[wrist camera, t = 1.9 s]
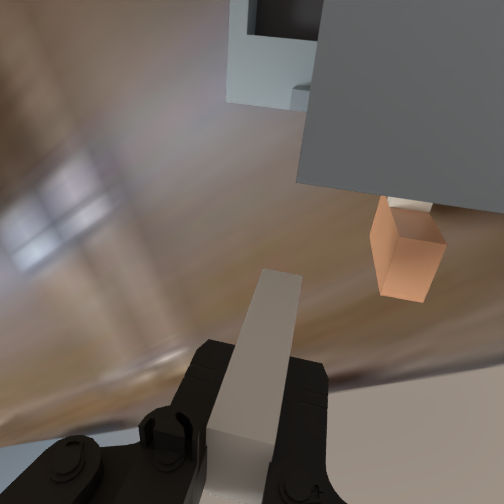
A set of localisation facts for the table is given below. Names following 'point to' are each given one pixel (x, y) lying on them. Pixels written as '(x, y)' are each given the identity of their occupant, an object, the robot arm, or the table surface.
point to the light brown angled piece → (405, 248)
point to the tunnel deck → (382, 92)
